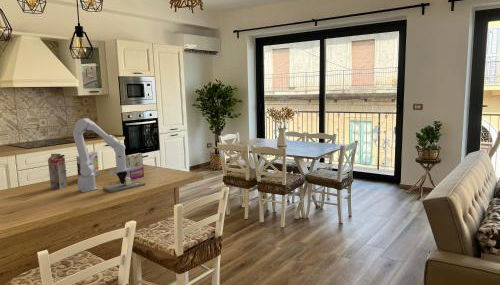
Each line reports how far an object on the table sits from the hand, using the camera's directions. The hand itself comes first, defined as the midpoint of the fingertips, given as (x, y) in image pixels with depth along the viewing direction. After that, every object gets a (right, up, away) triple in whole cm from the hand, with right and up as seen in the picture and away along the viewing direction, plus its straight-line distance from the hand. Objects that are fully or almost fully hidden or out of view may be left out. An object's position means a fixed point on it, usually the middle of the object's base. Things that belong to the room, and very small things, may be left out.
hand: (122, 183), depth 224 cm
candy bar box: (0, +1, +26) cm, 26 cm away
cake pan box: (-33, 0, +25) cm, 41 cm away
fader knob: (+2, -1, +2) cm, 3 cm away
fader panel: (+1, -2, +1) cm, 3 cm away
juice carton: (-42, -3, +4) cm, 42 cm away
